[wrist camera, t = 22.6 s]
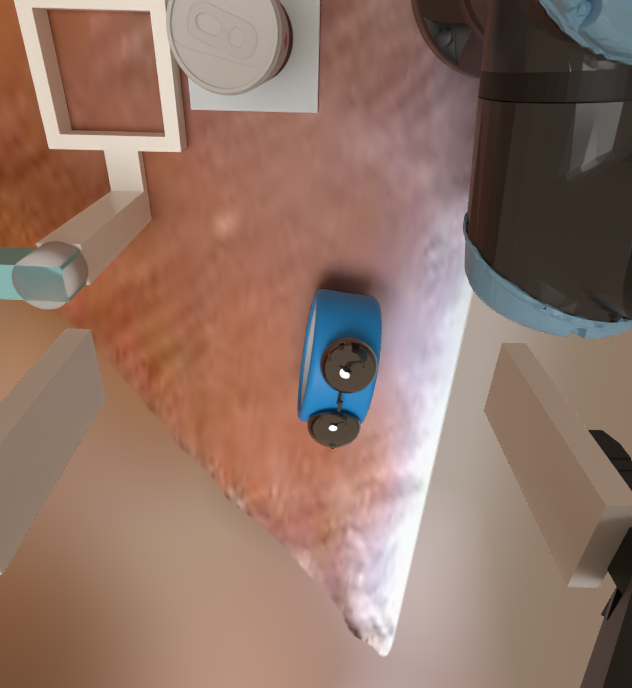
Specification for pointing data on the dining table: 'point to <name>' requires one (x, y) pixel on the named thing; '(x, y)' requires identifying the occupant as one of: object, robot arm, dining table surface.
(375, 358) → the alarm clock
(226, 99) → the mat
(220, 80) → the beverage can
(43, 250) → the bar
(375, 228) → the dining table surface
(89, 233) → the grey frame with post
